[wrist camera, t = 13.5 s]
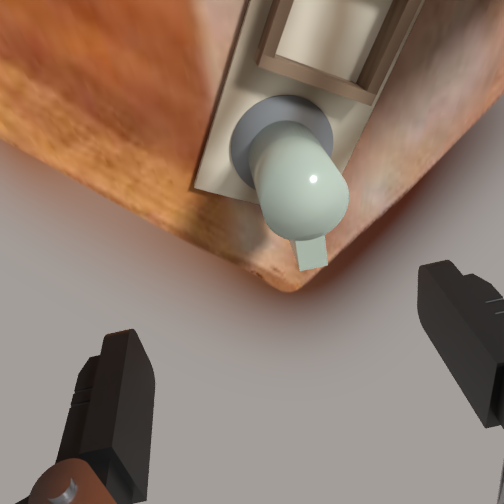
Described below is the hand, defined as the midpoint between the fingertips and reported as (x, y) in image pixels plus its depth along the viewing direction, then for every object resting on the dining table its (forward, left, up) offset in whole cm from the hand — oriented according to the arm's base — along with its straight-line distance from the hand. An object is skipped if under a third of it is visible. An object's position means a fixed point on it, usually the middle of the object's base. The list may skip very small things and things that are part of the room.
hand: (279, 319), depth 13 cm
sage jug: (+9, -7, -32) cm, 34 cm away
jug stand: (+8, 0, -33) cm, 34 cm away
